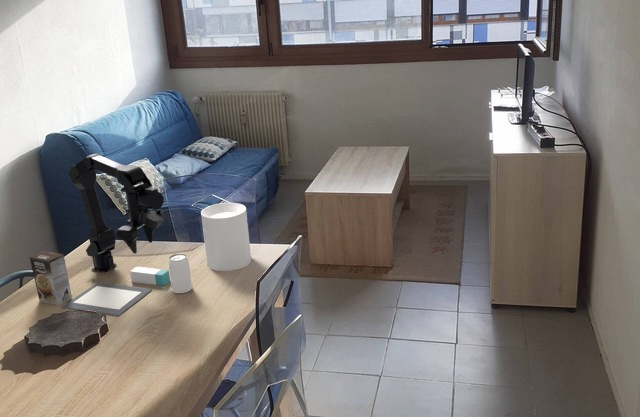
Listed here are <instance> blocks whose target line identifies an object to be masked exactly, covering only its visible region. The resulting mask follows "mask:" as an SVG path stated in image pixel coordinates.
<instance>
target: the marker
mask: <svg viewBox="0 0 640 417" xmlns="http://www.w3.org/2000/svg"><path fill="white" fill-rule="evenodd" d="M129 274H130V279H131V282H132V283H140V284H145V285H146V284H148V285H154V286H163V287H164V286H165V285H166V284H168V283H169V282H171V277H170V270H169V269H160V268H152V267H144V266H135V267H134V268H133V269H131V270H130V271H129Z"/></svg>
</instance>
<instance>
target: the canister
mask: <svg viewBox="0 0 640 417" xmlns="http://www.w3.org/2000/svg"><path fill="white" fill-rule="evenodd" d="M247 214H248V213H247V207H246V206H245V205H244V204H241V203H237V202H223V203H222V202H221V203H216V204H212V205H209V206H207V207H204V208H203V209H202V210H201V211H200V216H201V226H202V233H203V239H204V248H205V255H206V256H205V257H206V264H207V267H208V268H209V269H210V270H213V271H216V272H231V271H232V272H233V271H238V270H240V269H243V268H245V267H247V266H249V264H250V263H251V262H252V253H251V244H250V235H249V224H248V215H247Z"/></svg>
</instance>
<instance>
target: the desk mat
mask: <svg viewBox="0 0 640 417" xmlns="http://www.w3.org/2000/svg"><path fill="white" fill-rule="evenodd" d="M152 291H153V289H152V288H145V287H137V286H130V285H124V284H123V285H121V284H116V283H106V282H99V281H97V282H96V283H95V284H93V285H91V286H90V287H89V288H87V289H86V290H84V291H83V292H81V293H79V294H78V295H77V296H76V297H74V298H72V299H70V300H68V301H67V302H65V303H64V305H63V304H62V306H61V308H62V309H68V310H73V311H74V310H75V311H80V310H95V311H96V312H97V313H96V314H99V313H100V315H107V316H114V317H120V316H121V315H123V314H124V313H125V312H126V311H128V310H129V309H130V308H132V307H133V306H134V305H135V304H136V303H137V304H138V302H140V300H142V299H143V298H144V297H146V296H147V295H148V294H149V293H150V292H152Z"/></svg>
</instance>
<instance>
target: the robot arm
mask: <svg viewBox="0 0 640 417" xmlns="http://www.w3.org/2000/svg"><path fill="white" fill-rule="evenodd" d="M96 171H99V172H101V173H102V174H106V175H108V176H110V177H112V178H115V179H116V180H117V182H118V184H119V185H121V186H123V187H122V188H121V189H120V192H123V193H125V197H126V203H127V208H126V209H125V212H126V213H128V218H129V219H128V220H126V222H127V223H126V224H128V225H122V226H121V227H118V228H117V229H116V230H115V231H114V229H113V228H110V227H109V226H107V224H106V223H105V218H104V215H103V212H102V211H103V210H102V208H101V204H100V201H99V198H98V195H97V190H96V188H95V185H96V181H97V172H96ZM68 176H69V177H70V179H71V182H72V184H73V185H74V186H75V187H76V188H77V189H78V190H79V192H80V195H81V200H82V201H83V205H84V209H85V211H86V215H87V219H88V221H89V222H88V223H89V226H90V232H89V236H88V239H89V240H88V241H89V245H88V246H87V248H86V249H85V253H86V255H87V257H91V258H92V263H93V268H91V271H94V272H101V273H102V272H103V273H107V272H109V271H110V270H111V269H113V268H114V267H117V263H115V262H114V257H113V255H112V251H113V250H115V249H116V248H115V247H116V242H117V240H116V239H120V240H123V242H124V243H125V244H126V245H127V247H128V248H129V250H131V252H132V254H138V253H137V252H138V251H137V250H138V249H137V248H138V247H137V239H138V238H139V237H140V236H139V235H138V233H139V231H138V229H140V228H143V230H144V233H145V237H146V239H147V241H148V243H149V244H152V243H153V240H154V234H155V230H157V229H158V228H159V227H162V224H163V221H164V220H165V219H166V217H165V212H164V210H163V209H161V208H162V207H163V205H164V201H165V198H164V195H163V194H162V193H161V192H159V190H158V188H156V187H154V188H152V187H153V184H152V182H151V179H149V177H148V176H147V175H146V173H145V171H144V170H143V169H142V167H141V166H138V165H132V164H131V165H129V164H127V165H126V164H121V163H119V162H116V161H114V160H112V159H110V158H107V157H104V156H103V155H101V154H99V153H92V154H90V155H86V156H85V157H84V158H83V159H82V160H81V161H79V162H77V163H76V164H74V165H71V166H70V167H69V169H68ZM150 209H151V210H150ZM155 210H156V211H155Z"/></svg>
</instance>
